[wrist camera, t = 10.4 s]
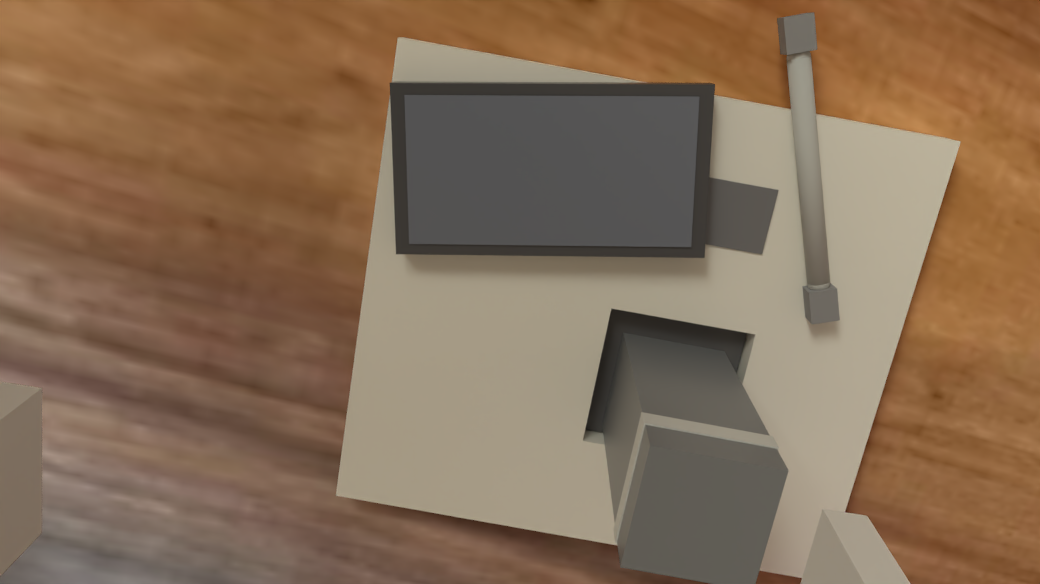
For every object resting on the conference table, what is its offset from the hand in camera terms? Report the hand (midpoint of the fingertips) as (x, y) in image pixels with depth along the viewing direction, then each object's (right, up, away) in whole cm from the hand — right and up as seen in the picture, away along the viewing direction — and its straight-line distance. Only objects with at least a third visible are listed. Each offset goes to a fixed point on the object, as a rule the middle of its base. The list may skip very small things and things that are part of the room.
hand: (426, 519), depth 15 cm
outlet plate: (+6, +3, +20) cm, 21 cm away
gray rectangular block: (+7, 0, +21) cm, 22 cm away
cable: (+12, +8, +17) cm, 22 cm away
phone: (+3, +8, +17) cm, 19 cm away
